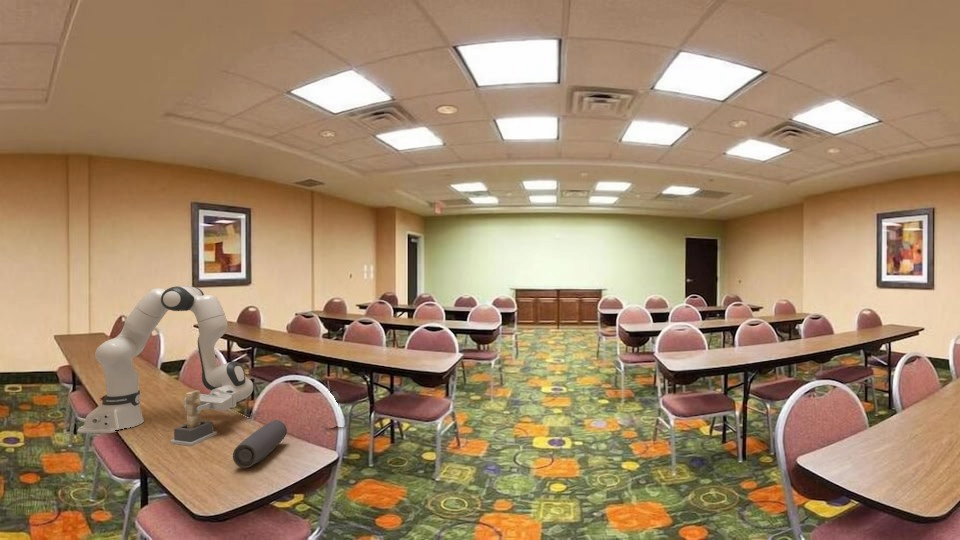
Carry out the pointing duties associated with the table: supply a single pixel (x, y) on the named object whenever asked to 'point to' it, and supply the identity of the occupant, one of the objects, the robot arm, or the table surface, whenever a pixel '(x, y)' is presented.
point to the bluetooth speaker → (259, 444)
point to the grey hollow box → (193, 434)
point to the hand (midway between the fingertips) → (191, 408)
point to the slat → (193, 409)
